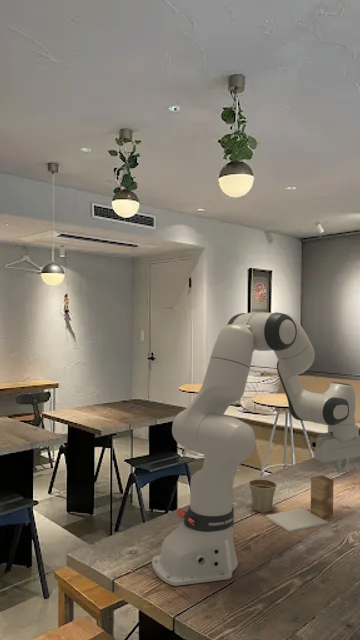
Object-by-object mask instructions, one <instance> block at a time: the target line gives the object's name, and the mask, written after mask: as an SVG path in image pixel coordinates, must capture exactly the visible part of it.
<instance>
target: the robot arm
mask: <svg viewBox="0 0 360 640" xmlns="http://www.w3.org/2000/svg"><path fill="white" fill-rule="evenodd" d="M211 351H212V352H211V355H210V359H209V363H208V366H207V367H206V368H207V370H206V373H205V376H204V379H203V382H202V385H201V386H200V389H199V391H198V393H197V394H196V396H195V398H193V400H192V402H191V403H190V404H189V405H188V406H187V407H186V408H185V409H183V410H181V411H180V412H179V413H178V414H177V415H176V416H175V418H174V419H173V421H172V425H171V426H172V427H171V434H172V437H173V439H174V440H175V441H176V443H178V444H179V445H181V446H182V447H183V448H185V449H187V450H189V451H191V452H192V451H193V452H195V453H199V454H202V455H203V457H204V459H203V463H202V464H203V465H202V468H200V469H199V470H197V471H195V473H193V474H192V476H191V478H190V482H189V483H190V484H189V485H190V487H189V494H190V496H189V506H188V508H187V511H186V510H184V509H183V507H182V508H181V507H180V508H178V509H177V510H176V515H177V516H178V517H180V518H181V519H183V522H182V523H181V524H179V526H177V528H175V529H174V530H173V531H172V532H171V533H170V534H169V535H167V536H166V537H165V538H164V540H163V541H162V544H161V549H160V554H158V555H155V556H153V557H152V559H151V560H152V561H151V568H152V570H153V571H154V573H155V575H156V576H157V577H158V578H159V579H160V580H162V581H163V582H165V583H167V585H170V586H176V587H177V586H184V585H185V586H186V585H193V584H194V585H195V584H200V583H209V582H217V581H223V580H224V581H225V580H230V579H231V578H233V572H234V571H235V570H236V569H237V567H238V565H239V560H238V557H237V554H236V549H235V543H234V531H233V528H234V523H235V521H234V520H235V511H234V510H235V509H234V507H233V493H234V492H233V490H234V488H233V487H234V482H235V481H234V480H235V479H234V478H235V475H236V473H237V471H238V469H239V467H240V465H242V463H243V462H245V461H246V460H248V459H249V458H250V457H251V456H252V454H253V452H254V450H255V448H256V435H255V431H254V429H253V427H252V426H250V425H249V424H248V423H247V422H244V421H242V420H240V419H238V418H236V417H232V416H227V415H225V413H226V411H227V410H228V408H229V407H230V406H231V405H232V404H234V403H235V402H237V401H239V400H241V399H242V397H243V396H244V393H245V389H246V386H247V385H246V384H247V381H248V378H249V374H250V370H251V366H252V365H251V364H252V359H253V354H254V351H259V352H265V351H268V352H269V351H274V352H273V353H274V354H275V357H276V358H277V362H276V370H277V375H278V377H279V380H280V383H281V386H282V388H283V391H284V393H285V396H286V399H287V402H288V403H287V405H288V410H289V413H290V415H291V416H292V417H293V419H295V420H297V421H300V422H301V421H304V422H311V423H313V424H314V423H315V424H319V425H325V426H327V432H321V433H320V434H319V435H318V436H317V437H316V443H315V449H314V458H315V460H316V461H317V462H320V463H330V462H333V464H334V465H335V471H336V473H339V474H340V473H346V472H347V470H348V469H347V467H348V465H349V464H350V459H353V458H360V426H359V425H356V419H355V418H356V417H355V413H356V410H357V409H356V404H357V403H356V394H355V388H354V386H353V385H352V384H350V383H344V382H338V381H332V382H330V383H329V386H328V389H327V390H326V391H325V392H322V393H319V392H312V391H308V390H307V389H304V388H303V386H302V383H301V380H300V378H299V375H302V374H303V373H305V372H307V371H308V369H310V368H311V366H312V365H313V363H314V361H315V358H316V353H315V349H314V346H313V344H312V342H311V341H310V338H309V336H308V334H307V333H306V331H305V330H304V328H303V327H302V325H301V324H300V323H299V322H298V319H296V317H294V315H291V314H289V313H282V312H278V311H276V312H263V311H253V312H246V313H245V312H243V313H242V312H241V313H237V314H235V315H233V316H232V317H231V318H230V319H229V321H228V322H227V324H226V325H225V326H223V327H222V329H221V330H220V332H219V334H218V336H217V337H216V340H215V343H214V346H213V349H212V350H211Z"/></svg>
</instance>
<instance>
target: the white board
mask: <svg viewBox="0 0 360 640" xmlns="http://www.w3.org/2000/svg"><path fill="white" fill-rule="evenodd" d="M265 518H266V519H267V520H269V521H270V522H272V523H273V524H275V525H276V526H278V527H280V528H282V529H283V530H284V531H286V532H287V533H293V532H296V531H302V530H305V529H310V528H311V529H312V528H315V527H319V526H320V527H321V526H325V525H328V522H329V521H327V520H326V519H321V518H319V517H318V516H316V515H314V514H312V513H311V511H308V510H306V508H305V509H304V508H303V507H302V508H297V509H292V510H291V509H290V510H287V511H282V512H277V513H271V514H266V515H265Z"/></svg>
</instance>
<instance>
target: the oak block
mask: <svg viewBox="0 0 360 640" xmlns="http://www.w3.org/2000/svg"><path fill="white" fill-rule="evenodd" d="M334 480H335V479H333V478H330V477H327V476H325V475H317V476H311V477H310V513H312V514H314V515H316V516H318V517H319V518H321V519H323V520H326V519H329V518H334V484H335V483H334V482H335V481H334Z"/></svg>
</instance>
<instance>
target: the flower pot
mask: <svg viewBox="0 0 360 640" xmlns="http://www.w3.org/2000/svg"><path fill="white" fill-rule="evenodd" d="M248 485H249V489H250V494H251V495H250V496H251V501H252V509H253V511H257V512H258V513H268V512H271V511H272V508H273V502H274V495H275V491H276V488H277V487H278V485H277V482H274V481H272V480H269V479H261V478H260V479H259V478H258V479H251V480H250V481H248Z"/></svg>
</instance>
